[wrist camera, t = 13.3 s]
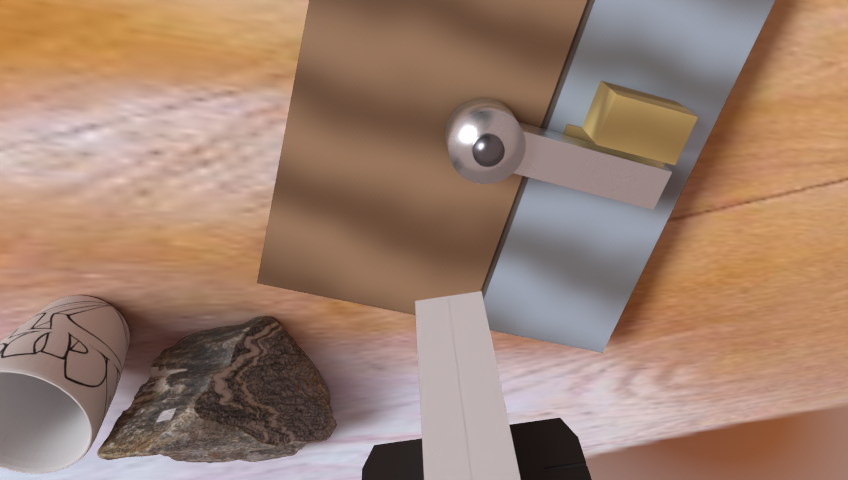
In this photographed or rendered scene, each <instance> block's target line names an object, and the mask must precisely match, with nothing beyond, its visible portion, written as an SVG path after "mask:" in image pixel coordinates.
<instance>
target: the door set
mask: <svg viewBox="0 0 848 480" xmlns="http://www.w3.org/2000/svg"><path fill="white" fill-rule="evenodd" d="M774 2H775V0H309V5H308V10H307V15H306V21H305V26H304V32H303V37H302V43H301V48H300V53H299V59H298V64H297V70H296V75H295V80H294V86H293V91H292V97H291V102H290V107H289V113H288V118H287V124H286V129H285V134H284V140H283V145H282V151H281V156H280V161H279V167H278V172H277V178H276V183H275V188H274V194H273V199H272V205H271V210H270V215H269V221H268V226H267V232H266V237H265V242H264V248H263V253H262V259H261V264H260V269H259V275H258V280H257V283H259V284H264V285H269V286H274V287H279V288H284V289H289V290H294V291H299V292H304V293H309V294H313V295H318V296H323V297H328V298H333V299H338V300H343V301H348V302H353V303H358V304H363V305H368V306H373V307H378V308H383V309H388V310H393V311H398V312H403V313H408V314H413V315H416V309H415V301H418V300H425V299H432V298H438V297H445V296H452V295H459V294H465V293H472V292H479V291H482V296H483V301H484V306H485V310H486V315H487V320H488V325H489V330H492V331H497V332H502V333H507V334H512V335H516V336H521V337H526V338H531V339H536V340H541V341H546V342H551V343H556V344H561V345H566V346H571V347H576V348H581V349H586V350H591V351H596V352H601V353H603V351H604V349H605V347H606V345H607V343H608V341H609V338H610V336H611V334H612V332H613V330H614V328H615V326H616V324H617V322H618V320H619V318H620V316H621V314H622V312H623V310H624V308H625V306H626V304H627V302H628V300H629V298H630V296H631V294H632V292H633V290H634V288H635V285H636V283H637V281H638V279H639V277H640V275H641V273H642V271H643V269H644V267H645V265H646V263H647V261H648V259H649V257H650V255H651V253H652V251H653V249H654V247H655V245H656V243H657V241H658V239H659V237H660V234H661V232H662V230H663V228H664V226H665V224H666V222H667V220H668V218H669V216H670V214H671V212H672V210H673V208H674V206H675V204H676V202H677V200H678V198H679V196H680V194H681V192H682V190H683V188H684V186H685V184H686V181H687V179H688V177H689V175H690V173H691V171H692V169H693V167H694V165H695V163H696V161H697V159H698V157H699V155H700V153H701V151H702V149H703V147H704V145H705V143H706V141H707V139H708V137H709V135H710V133H711V130H712V128H713V126H714V124H715V122H716V120H717V118H718V116H719V114H720V112H721V110H722V108H723V106H724V104H725V102H726V100H727V98H728V96H729V94H730V92H731V90H732V88H733V86H734V84H735V82H736V79H737V77H738V75H739V73H740V71H741V69H742V67H743V65H744V63H745V61H746V59H747V57H748V55H749V53H750V51H751V49H752V47H753V45H754V43H755V41H756V39H757V37H758V35H759V33H760V31H761V29H762V26H763V24H764V22H765V20H766V18H767V16H768V14H769V12H770V10H771V8H772V6H773V4H774ZM478 97H488V98H493V99H496V100H498V101H500V102H502V103H503V104H505V105H506V106H507V107H508V108H509V109H510V110H511V111H512V113H513V115H514V117H515V118H516V120H517V122H520V123H524V124H528V125H531V126H535V127H538V128H542V129H546V130H549V131H553V132H556V133H560V134H564V135H567V136H571V137H574V138H578V139H582V140H585V141H589V142H593V143H595V144H596V145H599V146H603V147H607V148H611V149H614V150H618V151H622V152H626V153H630V154H634V155H638V156H641V157H645V158H649V159H653V160H657V161H661V162H662V163H663V164H664V165H665V166H666V167H667V168H668V169H669V170H670V171H672V174H671V176H670V178H669V180H668V182H667V184H666V186H665V188H664V190H663V192H662V194H661V196H660V198H659V200H658V202H657V204H656V206H655V208H654V210H652V209H648V208H644V207H640V206H637V205H633V204H629V203H625V202H621V201H618V200H614V199H610V198H606V197H602V196H598V195H595V194H591V193H587V192H583V191H579V190H576V189H572V188H568V187H564V186H560V185H557V184H553V183H549V182H545V181H541V180H537V179H534V178H530V177H526V176H522V175H518V174H515V173H513V174H511V175H510V176H509V177H507V178H506V179H504V180H502V181H499V182H496V183H492V184H478V183H474V182H471V181H469V180H467V179H465V178H464V177H462V176H461V175H460V174H459V173H458V172H457V171H456V170H455V168H454V167H453V164H452V162H451V159H450V156H449V151H448V147H447V143H446V138H445V131H446V125H447V122H448V119H449V118H450V116H451V114H452V113H453V111H454V110H455V109H456V108H457V107H458V106H460V105H461V104H462V103H464V102H466V101H468V100H470V99H473V98H478Z"/></svg>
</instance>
